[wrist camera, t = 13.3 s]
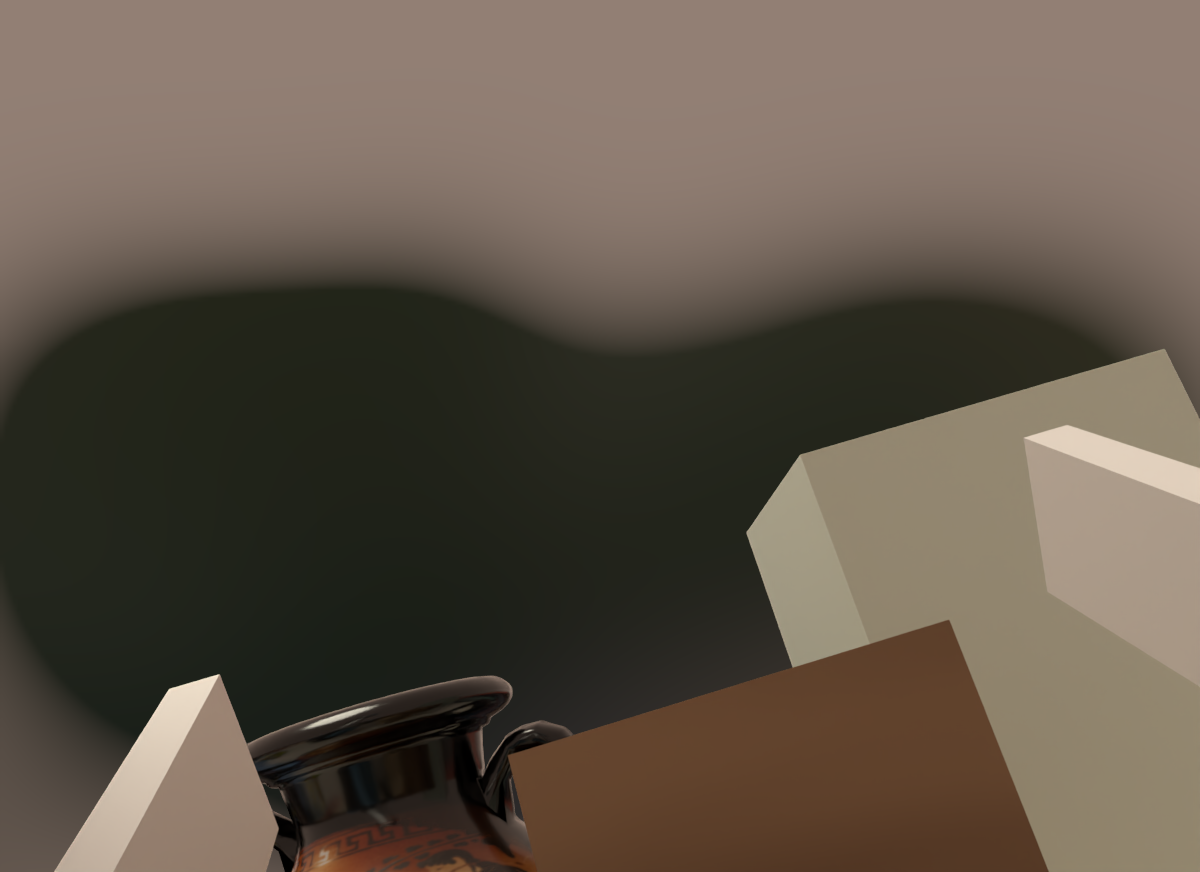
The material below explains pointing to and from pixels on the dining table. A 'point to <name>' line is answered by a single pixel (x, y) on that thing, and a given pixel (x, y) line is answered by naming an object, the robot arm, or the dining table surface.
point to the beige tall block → (1004, 604)
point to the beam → (791, 776)
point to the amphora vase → (402, 784)
